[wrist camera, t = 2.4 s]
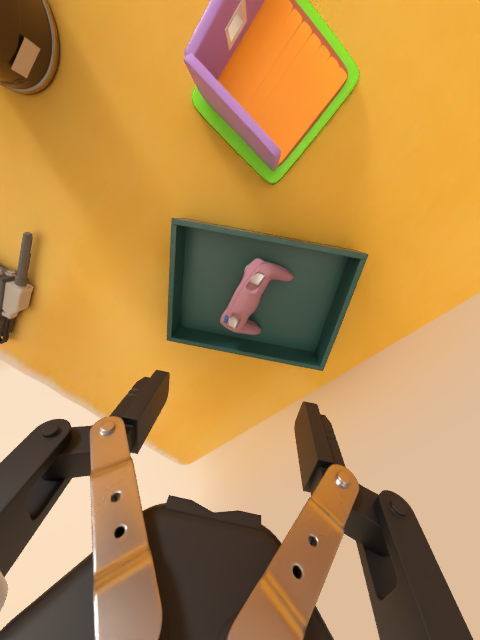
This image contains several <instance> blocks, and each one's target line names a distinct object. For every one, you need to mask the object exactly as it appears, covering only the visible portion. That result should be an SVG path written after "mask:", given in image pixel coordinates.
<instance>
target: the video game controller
mask: <svg viewBox="0 0 480 640" xmlns="http://www.w3.org/2000/svg"><path fill="white" fill-rule="evenodd" d="M273 279H274V280H281V281H291V280H293V275H292V273H291V272H290V271H289V270H287V269H286V268H284V267H282V266H280V265H277V264H274V263H270V262H266V261H263V260H261V259H260V258H256V259H255V260H253V261H252V262H251V263H250V264H249V265H247V266H246V267H245V270H244V275H243V279H242V281H241V283H240V285H239V286H238V288H237V290H236V291H235V293H234V295H233V297H232V299H231V301H230V303H229V305H228V308H227V309H226V310H225V311H224V313H223V314H222V316H221V319H220V323H221V324H222V325H223V326H224V327H226V328H227V329H229V330H231V331H233V332H236V333H244V334H251V335H256V334H259V333H260V332H261V328H260V327H259V326H258V325H257V324H256V323H254V322H253V321H251V320H249V319H248V318H249V316H250V315H251V314H252V313H253V312H254V311H255V309H256V308H257V306H258V304H259V301H260V297H261V295H262V293H263V292H264V290H265V288H266V287H267V285H268V283H269V281H270V280H273Z"/></svg>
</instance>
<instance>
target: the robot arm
mask: <svg viewBox="0 0 480 640" xmlns="http://www.w3.org/2000/svg"><path fill="white" fill-rule="evenodd" d="M58 57H59V42H58V34H57V29H56V24H55V21H54V17H53V14H52V11H51V9H50V6H49V4H48V2H47V0H0V84H1V85H3V86H5V87H7V88H9V89H11V90H13V91H15V92H18V93H22V94H34V93H37V92H39V91H41V90H43V89H44V88H45V87H46V86H47V85H48V84H49V83H50V82H51V80H52V78H53V76H54V74H55V71H56V68H57V64H58ZM169 376H170V374H169V372H164V371H159V370H156V371H155V372H154V373H153V375H152V376H151V377H150V378H149V377H144V378H142V379H141V380H139V381H137V382H136V384H135V385H134V386H133V387H132V389H131V390H130V391H129V392H128V394H127V395H126V396H125V397H124V399H123V400H122V401H121V402H120V404H119V405H118V406H117V407H116V409H115V410H114V411H113V413H112V414H111V415H110V416H109V417H105V418H103V419H101V420H99V421H97V422H96V423H95V424H94V425H92V426H85V427H71V425H70V423H69V422H68V421H67V420H64V419H55V420H51V421H47V422H45V423H43V424H41V425H40V426H38V427H37V428H36V429H35V430H33V432H31V433H30V434H29V435H28V436H27V438H25V439H24V440H23V441H22V442H21V443H20V444H19V445H18V446H17V447H16V448H15V449H14V450H13V451H12V452H11V453H10V454H9V455H8V456H7V457H6V458H5V459H4V460H3V461H2V462H1V463H0V610H1V608H2V607H3V605H4V602H5V600H6V596H7V591H8V586H7V582H6V580H5V578H4V577H5V575H6V574H7V573H8V571H9V570H10V568H11V567H12V565H13V564H14V562H15V561H16V559H17V558H18V556H19V555H20V554H21V552H22V550H23V549H24V548H25V546H26V545H27V543H28V542H29V540H30V539H31V537H32V536H33V535H34V533H35V532H36V530H37V529H38V527H39V526H40V524H41V523H42V521H43V519H44V518H45V517H46V515H47V514H48V513H49V511H50V510H51V508H52V507H53V505H54V504H55V502H56V501H57V499H58V498H59V496H60V495H61V494H62V492H63V491H64V489H65V488H66V486H67V485H68V483H69V482H70V480H71V479H72V478H74V477H81V476H90V485H91V486H90V487H91V516H92V545H93V546H92V548H93V552H92V553H91V554H90V555H89V556H87V557H86V558H85V559H84V560H83V561H81V562H80V563H79V564H78V565H77V566H76V567H74V568H73V569H72V570H71V571H70V572H68V573H67V574H66V575H65V576H64V577H62V578H61V579H60V580H59V581H58V582H57V583H55V584H54V585H53V586H52V587H50V588H49V589H48V590H47V591H46V592H44V593H43V594H42V595H41V596H40V597H39V598H37V599H36V600H35V601H34V602H33V603H31V604H30V605H29V606H28V607H27V608H25V609H24V610H23V611H22V612H21V613H19V615H17V616H16V617H15V618H14V619H12V620H11V621H10V622H9V623H8V624H7V625H6V626H5V627H4V628H3V629H2V630H1V631H0V640H334V639H333V637H332V635H331V633H330V632H329V630H328V628H327V626H326V624H325V622H324V621H323V619H322V617H321V615H320V613H319V611H318V610H317V608H316V606H315V604H316V602H317V599H318V597H319V594H320V592H321V589H322V587H323V584H324V582H325V579H326V577H327V574H328V572H329V569H330V567H331V564H332V562H333V559H334V557H335V554H336V552H337V549H338V547H339V544H340V542H341V539H342V537H343V534H346V535H347V536H349V537H351V538H353V539H354V540H356V543H357V547H358V551H359V555H360V559H361V563H362V567H363V572H364V576H365V579H366V584H367V588H368V592H369V596H370V600H371V605H372V608H373V613H374V616H375V621H376V625H377V629H378V633H379V638H380V640H473V638H472V636H471V634H470V632H469V629H468V627H467V625H466V623H465V621H464V619H463V617H462V614H461V612H460V610H459V608H458V606H457V604H456V602H455V600H454V597H453V595H452V593H451V591H450V589H449V587H448V585H447V583H446V580H445V578H444V576H443V574H442V572H441V570H440V568H439V565H438V563H437V561H436V559H435V557H434V555H433V552H432V550H431V548H430V546H429V544H428V542H427V540H426V537H425V535H424V533H423V531H422V529H421V527H420V525H419V523H418V520H417V518H416V516H415V514H414V512H413V510H412V509H411V507H410V506H409V504H408V503H407V502H406V501H405V500H404V499H403V498H402V497H400V496H399V495H397V494H396V493H394V492H392V491H388V490H384V491H382V492H381V493H380V494H379V495H378V494H376V493H374V492H372V491H370V490H369V489H367V488H365V487H363V486H361V485H360V484H358V481H357V479H356V478H355V476H354V475H353V474H352V473H351V472H350V471H349V470H348V469H347V468H346V467H345V464H344V461H343V458H342V456H341V452H340V449H339V446H338V443H337V441H336V437H335V434H334V431H333V428H332V425H331V423H330V421H329V420H328V419H327V417H326V416H325V415H321V414H320V412H319V409H318V406H317V404H314V403H309V402H303V403H302V405H301V408H300V411H299V413H298V416H297V418H296V421H295V437H296V444H297V451H298V458H299V465H300V472H301V479H302V486H303V491H307V492H311V497H310V498H309V499H308V501H307V503H306V504H305V506H304V508H303V509H302V511H301V513H300V514H299V516H298V518H297V519H296V521H295V523H294V524H293V526H292V528H291V529H290V531H289V532H288V534H287V536H286V537H285V539H284V541H283V543H282V544H281V542H280V541H279V540H278V539H277V537H276V536H275V535H274V534H273V533H272V532H271V531H270V530H269V529H267V528H266V527H265V526H263V525H261V515H256V514H251V513H247V512H243V511H228V512H217V513H214V512H211V511H209V510H208V509H206V508H204V507H202V506H201V505H199V504H197V503H195V502H194V501H192V500H188V499H183V498H179V497H175V496H170V495H169V497H168V500H167V503H164V504H159V505H155V506H152V507H150V508H148V509H146V510H144V511H142V506H141V501H140V496H139V491H138V485H137V480H136V475H135V469H134V464H133V460H132V458H131V456H130V453H136V454H138V452H139V450H140V448H141V446H142V445H143V443H144V441H145V439H146V437H147V436H148V434H149V432H150V430H151V428H152V426H153V425H154V423H155V421H156V419H157V417H158V416H159V414H160V412H161V410H162V408H163V406H164V405H165V403H166V400H167V397H168V392H169Z"/></svg>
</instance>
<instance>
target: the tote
mask: <svg viewBox="0 0 480 640" xmlns="http://www.w3.org/2000/svg"><path fill="white" fill-rule="evenodd" d="M367 257H368V254H365V253H362V252H359V251H356V250H352V249H346V248H341V247H335V246H330V245H325V244H319V243H314V242H308V241H303V240H298V239H292V238H287V237H282V236H276V235H271V234H265V233H260V232H255V231H249V230H244V229H238V228H233V227H228V226H222V225H217V224H211V223H206V222H201V221H195V220H190V219H185V218H172V224H171V247H170V272H169V297H168V322H167V340H168V341H173V342H178V343H183V344H188V345H193V346H198V347H203V348H209V349H214V350H219V351H224V352H229V353H234V354H239V355H244V356H249V357H254V358H260V359H265V360H270V361H275V362H280V363H285V364H290V365H295V366H300V367H305V368H311V369H316V370H321V371H323V369H324V367H325V364H326V362H327V359H328V357H329V354H330V352H331V349H332V346H333V344H334V341H335V339H336V336H337V334H338V331H339V328H340V326H341V323H342V321H343V318H344V316H345V313H346V310H347V308H348V305H349V303H350V300H351V298H352V295H353V293H354V290H355V287H356V285H357V282H358V280H359V277H360V275H361V272H362V269H363V267H364V264H365V262H366V259H367ZM256 258H260V259H261V260H263V261H266V262H270V263H274V264H277V265H280V266H282V267H284V268H286V269H287V270H289V271H290V272H291V273H292V275H293V280H291V281H281V280H274V279H273V280H270V281H269V283H268V285H267V287H266V288H265V290H264V292H263V293H262V295H261V297H260V301H259V304H258V306H257V308H256V309H255V311H254V312H253V313H252V314H251V315H250V316H249V318H248V319H249V320H251V321H253V322H254V323H256V324H257V325H258V326H259V327H260V328H261V332H260V333H259V334H256V335H251V334H244V333H236V332H233V331H231V330H229V329H227V328H226V327H224V326H223V325H222V324H221V323H220V319H221V316H222V314H223V313H224V311H225V310H226V309H227V308H228V305H229V303H230V301H231V299H232V297H233V295H234V293H235V291H236V290H237V288H238V286H239V285H240V283H241V281H242V279H243V275H244V270H245V267H246V266H247V265H249V264H250V263H251V262H252V261H253V260H255V259H256Z"/></svg>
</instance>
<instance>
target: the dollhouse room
mask: <svg viewBox="0 0 480 640" xmlns="http://www.w3.org/2000/svg"><path fill="white" fill-rule="evenodd" d="M184 62H185V64H186V66H187V68H188V70H189V72H190V74H191V76H192V78H193V80H194V82H195V84H196V86H195V88H194V91H193V94H192V102H193V104H194V106H195V108H196V109H197V110H198V112H199V113H200V114H201V115H202V116H203V117H204V118H205V120H206V121H207V122H208V123H209V124H210V125H211V126H212V127H213V128H214V129H215V130H216V131H217V132H218V133H219V134H220V135H221V136H222V137H223V138H224V140H225V141H226V142H227V143H228V144H229V145H230V146H231V147H232V148H233V149H234V150H235V151H236V152H237V153H238V154H239V155H240V156H241V157H242V158H243V159H244V160H245V161H246V162H247V163H248V164H249V165H250V166H251V167H252V168H253V169H254V170H255V171H256V172H257V173H258V174H259V175H260V176H261V177H262V178H263V179H264V180H266V181H267V182H268V183H270V184H275V183H277V182H278V181H279V180H280V179H281V178H282V177H283V176H284V175H285V173H286V172H287V171H288V170H289V169H290V168H291V166H292V165H293V164H294V163H295V162H296V160H297V159H298V158H299V157H300V156H301V154H302V153H303V152H304V151H305V149H306V148H307V147H308V146H309V145H310V143H311V142H312V141H313V140H314V138H315V137H316V136H317V135H318V133H319V132H320V131H321V130H322V128H323V127H324V126H325V125H326V123H327V122H328V121H329V120H330V118H331V117H332V116H333V115H334V113H335V112H336V111H337V110H338V108H339V107H340V106H341V105H342V103H343V102H344V101H345V99H346V98H347V97H348V95H349V94H350V93H351V91H352V90H353V88H354V87H355V85H356V83H357V82H358V79H359V70H358V68H357V66H356V64H355V62H354V61H353V59H352V58H351V56H350V55H349V54H348V52H347V51H346V50H345V48H344V47H343V45H342V44H341V43H340V41H339V40H338V39H337V37H336V36H335V35H334V33H333V32H332V31H331V29H330V28H329V27H328V25H327V24H326V23H325V21H324V20H323V19H322V18H321V16H320V15H319V14H318V12H317V11H316V10H315V8H314V7H313V6H312V5H311V3H310V2H309V1H308V0H211V1H210V3H209V5H208V7H207V9H206V11H205V12H204V14H203V16H202V18H201V20H200V22H199V24H198V26H197V28H196V30H195V32H194V34H193V36H192V38H191V40H190V42H189V44H188V46H187V48H186V50H185V58H184Z"/></svg>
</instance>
